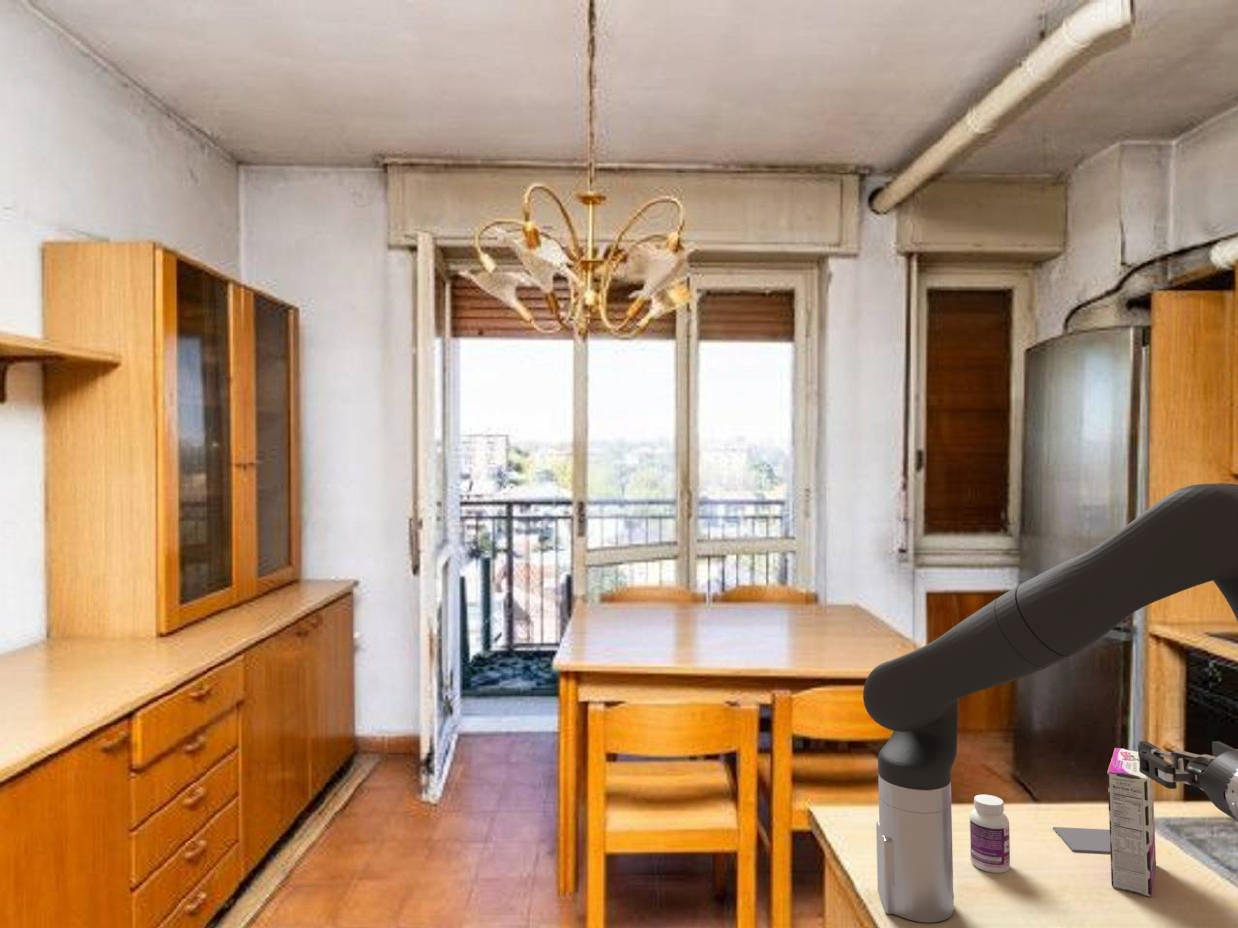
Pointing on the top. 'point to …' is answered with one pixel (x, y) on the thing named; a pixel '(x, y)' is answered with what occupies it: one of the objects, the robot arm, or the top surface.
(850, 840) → the top surface
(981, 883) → the top surface
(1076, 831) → the mat
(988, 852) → the pill bottle
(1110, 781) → the candy bar box
